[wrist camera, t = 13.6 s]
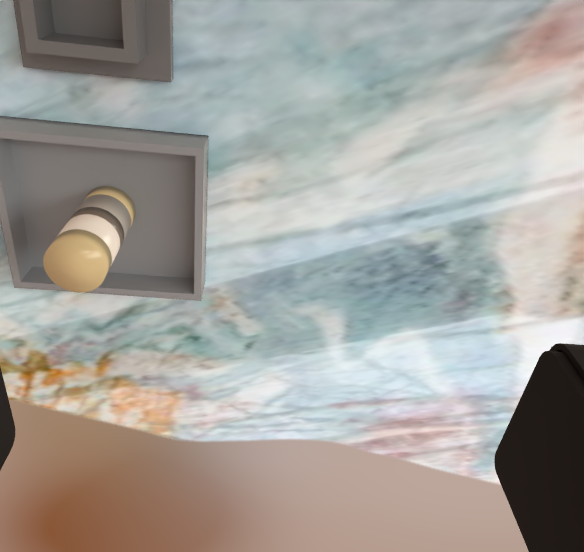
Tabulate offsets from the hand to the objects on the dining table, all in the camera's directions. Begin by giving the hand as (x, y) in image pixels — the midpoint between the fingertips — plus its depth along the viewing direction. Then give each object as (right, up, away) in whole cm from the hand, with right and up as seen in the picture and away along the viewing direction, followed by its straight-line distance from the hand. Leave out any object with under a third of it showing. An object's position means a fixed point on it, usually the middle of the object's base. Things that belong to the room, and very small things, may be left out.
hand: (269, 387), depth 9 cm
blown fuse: (-14, +7, +33) cm, 37 cm away
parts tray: (-14, +8, +34) cm, 38 cm away
